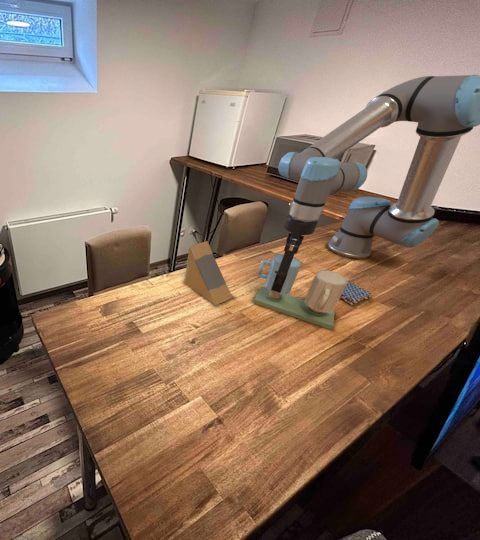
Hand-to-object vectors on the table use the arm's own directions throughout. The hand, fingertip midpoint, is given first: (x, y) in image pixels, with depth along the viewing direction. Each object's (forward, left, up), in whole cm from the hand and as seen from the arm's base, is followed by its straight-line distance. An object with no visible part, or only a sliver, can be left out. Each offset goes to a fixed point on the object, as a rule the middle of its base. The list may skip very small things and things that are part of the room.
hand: (278, 284), depth 92 cm
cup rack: (0, +6, -7) cm, 9 cm away
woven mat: (-19, +20, -7) cm, 29 cm away
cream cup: (+1, +12, -3) cm, 12 cm away
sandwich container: (+6, -20, -7) cm, 22 cm away
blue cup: (0, -1, -1) cm, 2 cm away
